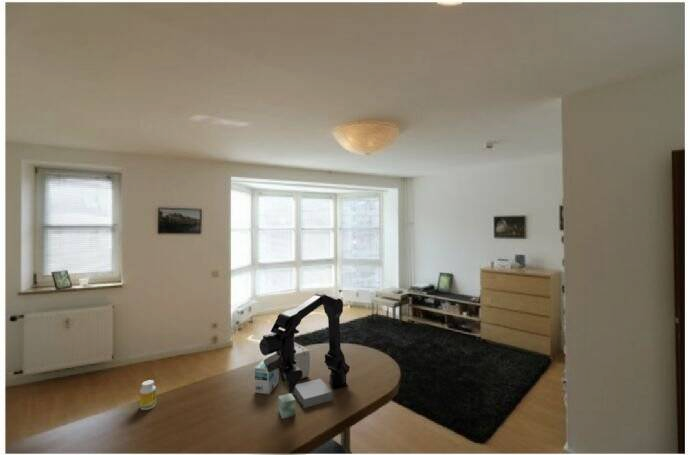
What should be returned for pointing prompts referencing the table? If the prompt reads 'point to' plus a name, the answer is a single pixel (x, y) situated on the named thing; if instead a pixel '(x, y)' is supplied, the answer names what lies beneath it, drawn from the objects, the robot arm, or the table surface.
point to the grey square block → (312, 393)
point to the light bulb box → (265, 379)
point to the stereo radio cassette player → (302, 359)
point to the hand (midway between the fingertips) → (286, 387)
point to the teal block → (286, 405)
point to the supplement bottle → (147, 395)
